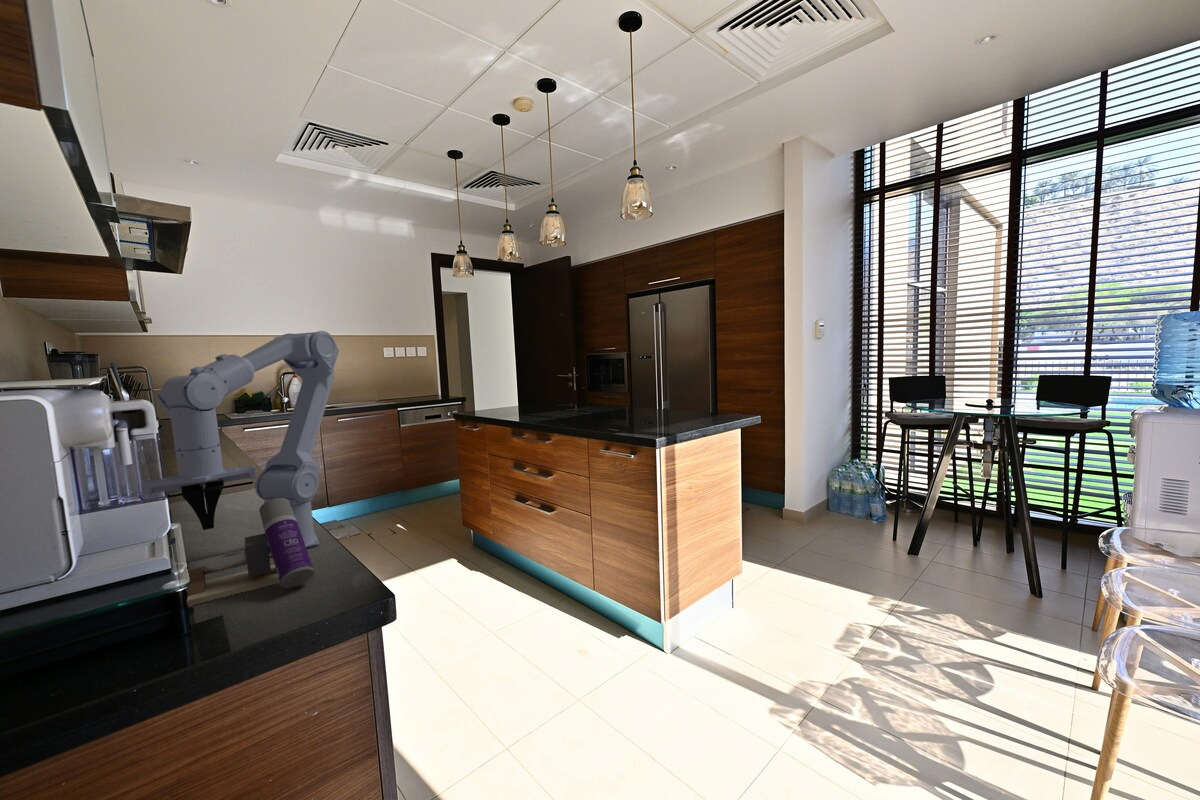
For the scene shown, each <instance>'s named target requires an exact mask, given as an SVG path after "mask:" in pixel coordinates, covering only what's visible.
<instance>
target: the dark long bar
mask: <svg viewBox="0 0 1200 800" xmlns="http://www.w3.org/2000/svg"><path fill="white" fill-rule="evenodd" d="M268 550H269V558H270V560H273V557H272V554H271V551H270V548H269V544H268ZM188 565H189V569H193V568H197V567H202V573H203V575H208V574H213V573H217V572H221V571H225V570H230V569H234V568H238V567H242V566H247V559H246V551H245V549H243V550H239V551H234V552H230V553H226V554H222V555H220V554H219V555H217V556H212V557H208V558H203V559H199V560H194V561H190V562H189V563H188Z"/></svg>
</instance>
